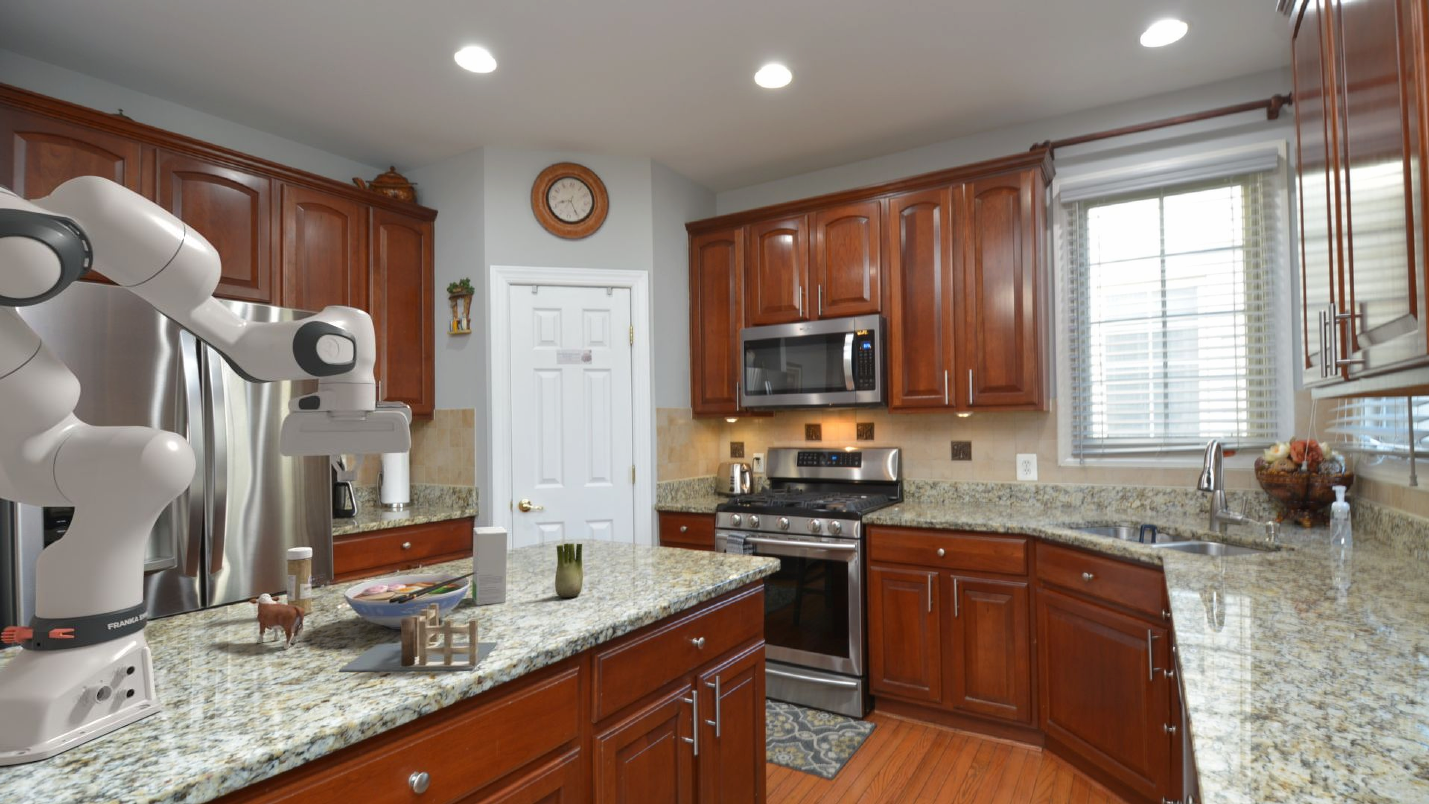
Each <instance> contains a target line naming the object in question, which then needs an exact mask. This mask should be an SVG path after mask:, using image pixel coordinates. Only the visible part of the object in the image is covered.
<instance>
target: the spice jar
mask: <svg viewBox="0 0 1429 804" xmlns="http://www.w3.org/2000/svg"><path fill="white" fill-rule="evenodd" d="M285 555H286V557H285V558H286V562H287V566H286V567H287V570H286V571H287V574H286V600H287V605H293V606H298V607H300V608H302V609H303V610H304V616H307V615H309V614H311V613H312V612H313V611H312V557H313V548H312V547H308V546H302V547H301V546H300V547H299V546H298V547H293V548H289V549H287V550H286V554H285Z"/></svg>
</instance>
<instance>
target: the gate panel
mask: <svg viewBox="0 0 1429 804" xmlns="http://www.w3.org/2000/svg"><path fill="white" fill-rule="evenodd" d="M410 618H415V657H418V656H419V621H421V620H422V619H428V626H440V625H439V624H440V622H439V620H440V619H439V603H432V604H430V609H422V610H421V611H420V616H411V617H410ZM439 635H440V634H428V647H430V643H438V641H440V637H439Z"/></svg>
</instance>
